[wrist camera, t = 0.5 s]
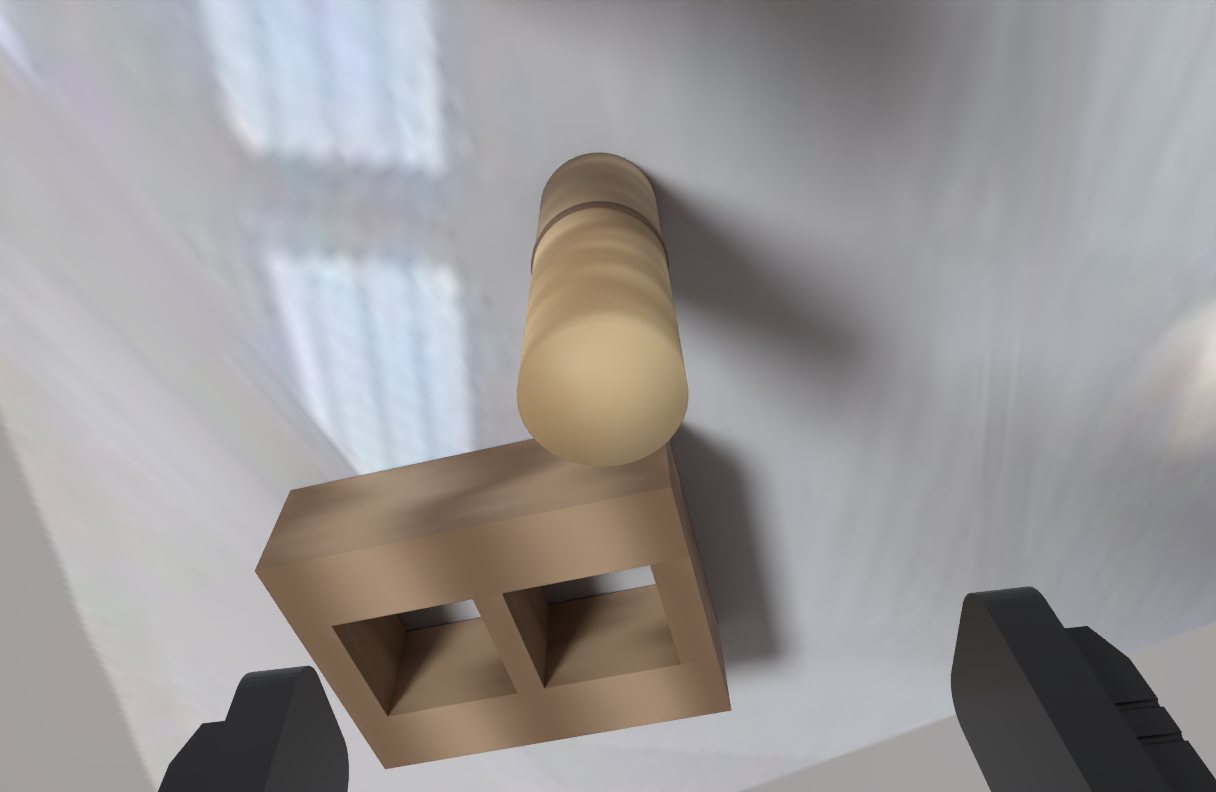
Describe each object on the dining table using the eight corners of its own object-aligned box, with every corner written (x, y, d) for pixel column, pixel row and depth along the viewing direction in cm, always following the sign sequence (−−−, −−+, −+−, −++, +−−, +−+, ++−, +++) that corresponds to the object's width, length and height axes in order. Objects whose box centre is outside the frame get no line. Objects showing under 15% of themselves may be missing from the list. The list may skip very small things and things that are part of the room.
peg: (643, 137, 25) (671, 303, 16) (669, 249, 26) (705, 449, 18) (524, 167, 25) (491, 344, 17) (557, 276, 27) (542, 482, 19)
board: (661, 411, 30) (671, 486, 26) (718, 626, 36) (731, 710, 32) (290, 490, 31) (254, 571, 28) (403, 683, 37) (384, 769, 34)
